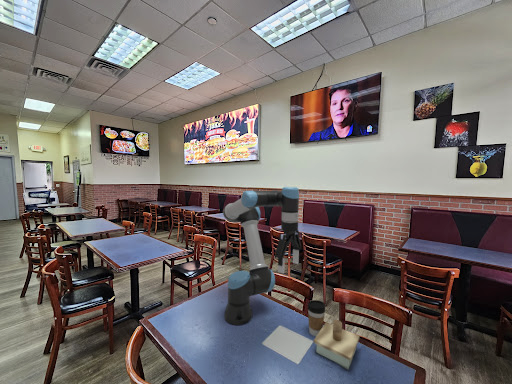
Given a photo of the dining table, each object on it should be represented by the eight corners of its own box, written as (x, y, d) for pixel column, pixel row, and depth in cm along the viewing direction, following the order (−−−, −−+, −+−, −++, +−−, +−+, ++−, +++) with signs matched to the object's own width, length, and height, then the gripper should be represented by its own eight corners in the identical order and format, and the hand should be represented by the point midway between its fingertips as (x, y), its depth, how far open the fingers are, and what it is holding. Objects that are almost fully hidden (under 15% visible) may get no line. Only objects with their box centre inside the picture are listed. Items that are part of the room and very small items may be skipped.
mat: (261, 344, 97) (261, 343, 97) (279, 326, 110) (279, 325, 110) (298, 365, 86) (298, 364, 86) (313, 342, 99) (313, 341, 99)
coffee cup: (325, 340, 100) (326, 309, 100) (306, 338, 102) (307, 307, 101) (323, 328, 108) (324, 299, 108) (306, 326, 110) (307, 297, 109)
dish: (316, 353, 93) (316, 342, 92) (326, 336, 103) (327, 326, 103) (348, 370, 85) (348, 357, 84) (356, 349, 95) (356, 338, 95)
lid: (313, 342, 92) (314, 324, 92) (325, 324, 104) (326, 308, 104) (350, 360, 83) (351, 340, 83) (359, 338, 95) (360, 320, 95)
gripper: (283, 226, 85) (281, 279, 86) (308, 218, 105) (307, 261, 106) (267, 224, 89) (266, 274, 90) (294, 217, 109) (293, 258, 110)
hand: (288, 267), depth 98 cm, fingers open, 13 cm apart
